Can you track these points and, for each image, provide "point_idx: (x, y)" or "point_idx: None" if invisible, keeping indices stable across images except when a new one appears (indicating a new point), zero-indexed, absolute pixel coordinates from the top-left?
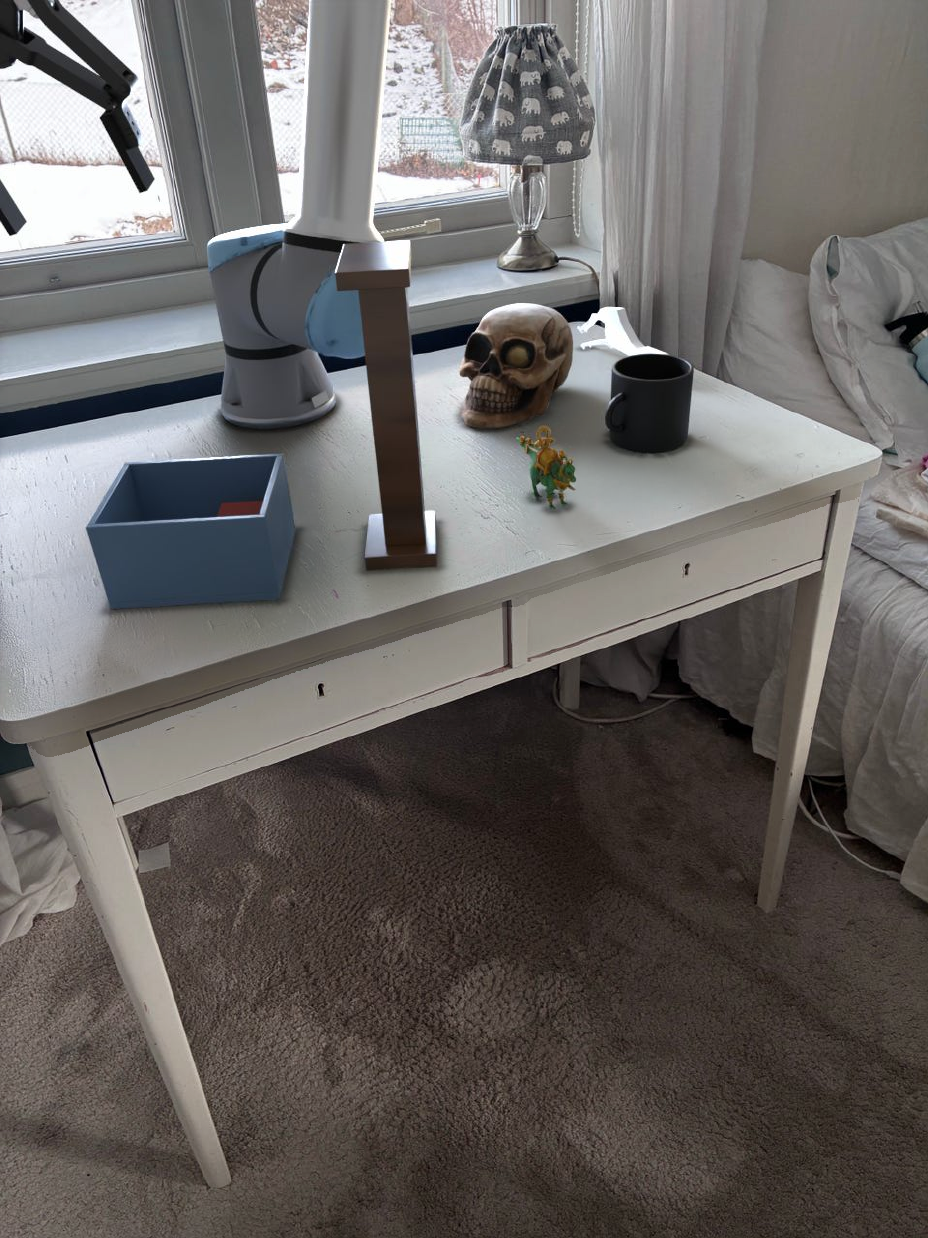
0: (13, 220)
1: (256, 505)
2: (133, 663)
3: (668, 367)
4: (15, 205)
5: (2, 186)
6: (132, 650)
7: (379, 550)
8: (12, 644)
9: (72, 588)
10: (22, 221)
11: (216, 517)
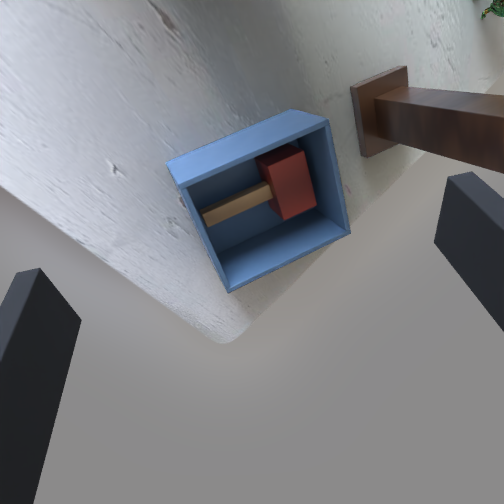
0: (64, 328)
1: (299, 162)
2: (258, 292)
3: None
4: (28, 313)
5: (5, 374)
6: (251, 284)
7: (375, 145)
8: (171, 309)
9: (160, 247)
10: (49, 288)
11: (318, 246)
